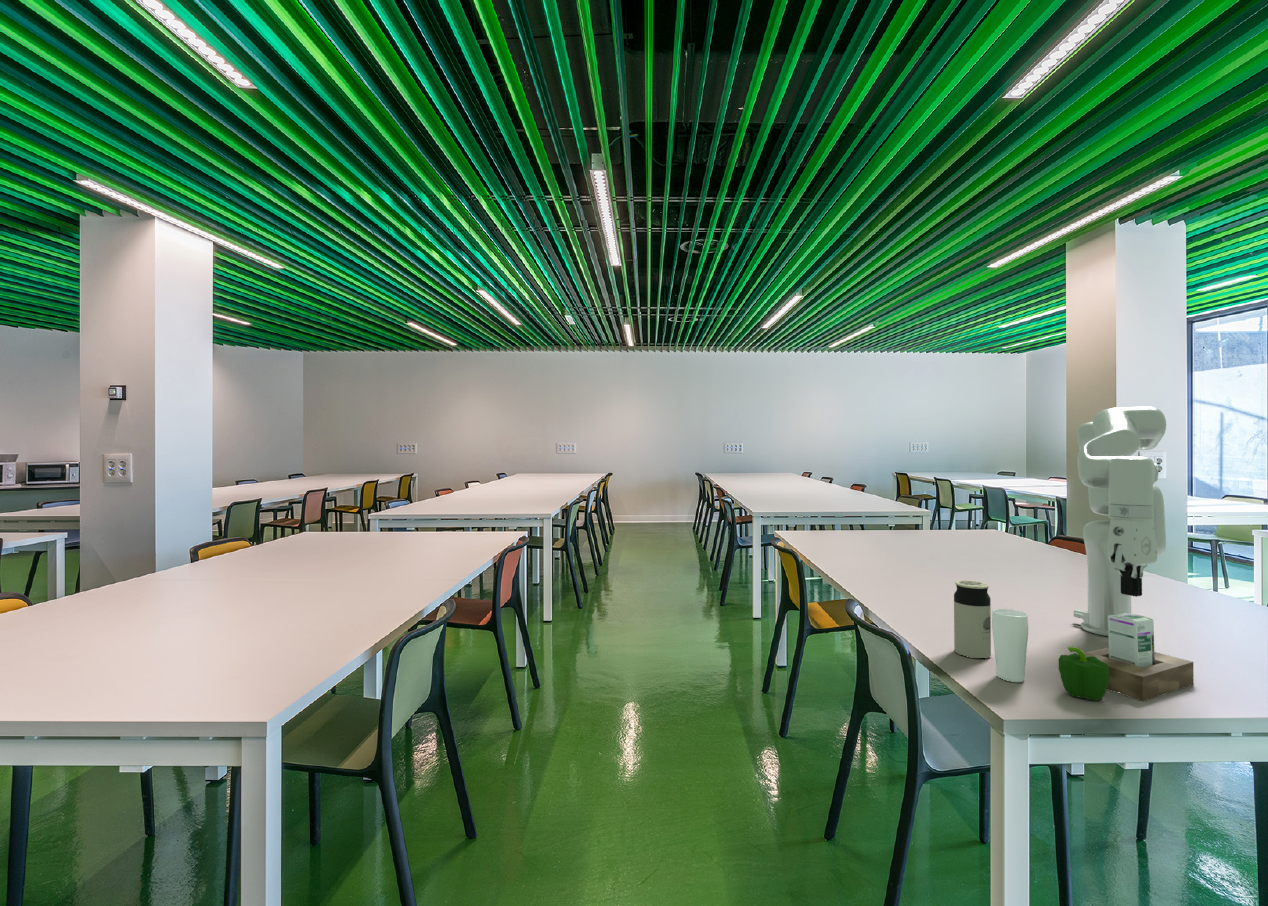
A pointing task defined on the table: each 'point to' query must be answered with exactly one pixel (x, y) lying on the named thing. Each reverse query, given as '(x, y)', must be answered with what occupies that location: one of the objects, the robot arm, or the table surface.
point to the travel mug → (972, 619)
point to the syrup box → (1131, 639)
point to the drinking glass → (1010, 643)
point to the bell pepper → (1083, 675)
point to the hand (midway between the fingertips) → (1131, 594)
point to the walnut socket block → (1147, 675)
